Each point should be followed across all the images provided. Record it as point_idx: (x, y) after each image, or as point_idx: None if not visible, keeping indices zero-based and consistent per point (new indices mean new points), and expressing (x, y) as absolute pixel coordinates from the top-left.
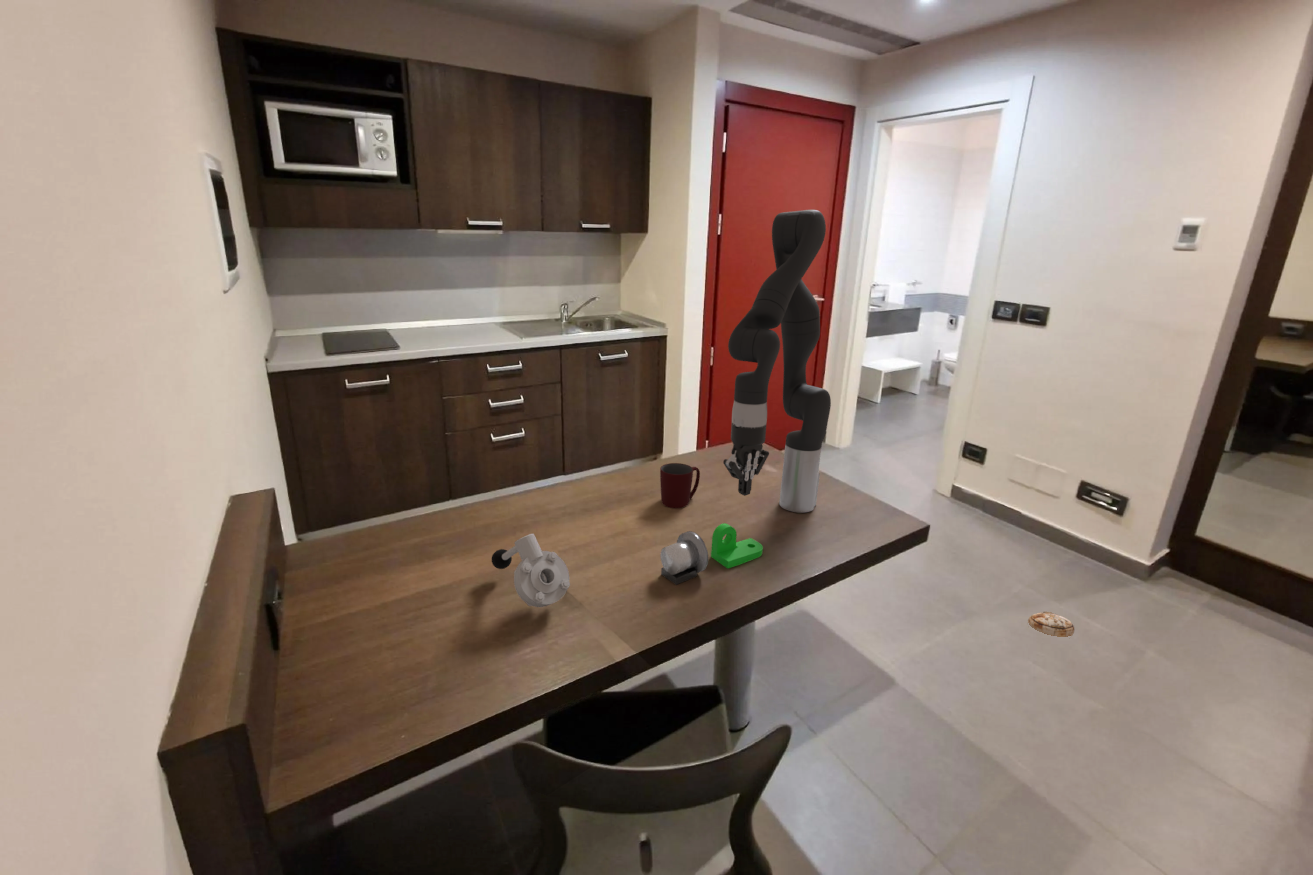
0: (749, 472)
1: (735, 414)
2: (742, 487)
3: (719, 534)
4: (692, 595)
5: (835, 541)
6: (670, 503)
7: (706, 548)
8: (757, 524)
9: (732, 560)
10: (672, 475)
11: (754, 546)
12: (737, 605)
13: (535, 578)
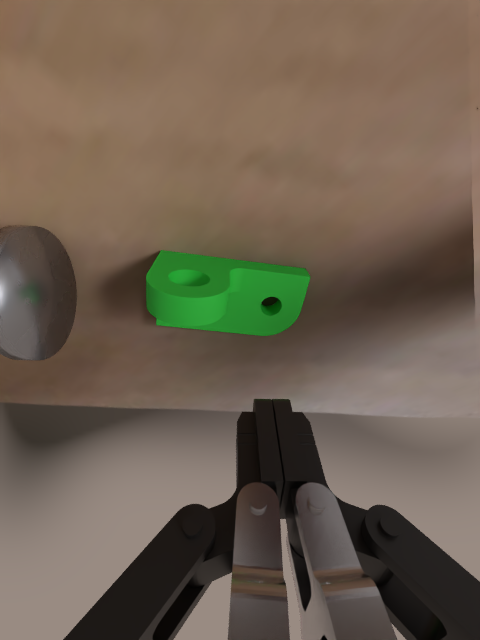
0: (296, 578)
1: None
2: (236, 466)
3: (149, 310)
4: None
5: (460, 371)
6: None
7: (42, 359)
8: (445, 191)
9: (171, 326)
10: None
11: (279, 308)
12: (89, 403)
13: None
